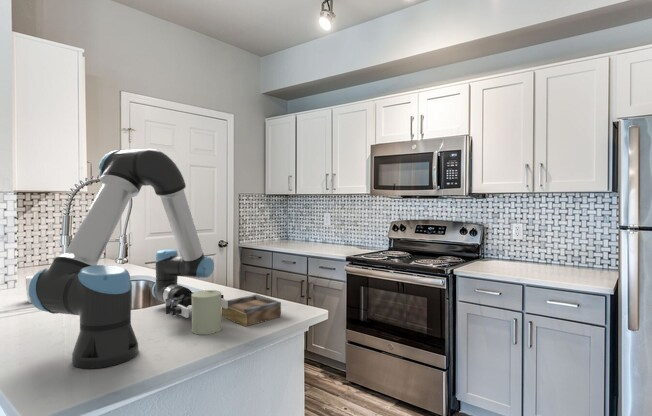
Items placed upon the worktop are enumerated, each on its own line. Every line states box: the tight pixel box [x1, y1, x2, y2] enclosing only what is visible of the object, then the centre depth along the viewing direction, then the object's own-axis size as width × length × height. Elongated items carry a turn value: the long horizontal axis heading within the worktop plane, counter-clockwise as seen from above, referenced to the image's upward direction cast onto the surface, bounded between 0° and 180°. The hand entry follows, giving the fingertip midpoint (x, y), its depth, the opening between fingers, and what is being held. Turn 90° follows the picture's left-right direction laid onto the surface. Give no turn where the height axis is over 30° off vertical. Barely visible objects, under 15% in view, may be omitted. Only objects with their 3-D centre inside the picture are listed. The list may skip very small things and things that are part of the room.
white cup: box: [25, 274, 35, 304], centre depth 156 cm, size 8×8×10 cm
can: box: [191, 289, 223, 336], centre depth 123 cm, size 9×9×12 cm
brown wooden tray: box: [221, 294, 282, 327], centre depth 137 cm, size 15×15×5 cm
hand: (207, 308), depth 124 cm, fingers open, 13 cm apart
